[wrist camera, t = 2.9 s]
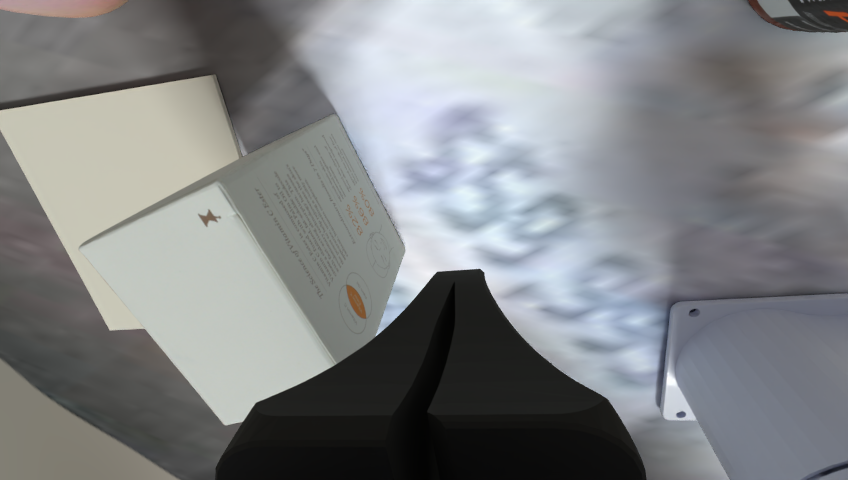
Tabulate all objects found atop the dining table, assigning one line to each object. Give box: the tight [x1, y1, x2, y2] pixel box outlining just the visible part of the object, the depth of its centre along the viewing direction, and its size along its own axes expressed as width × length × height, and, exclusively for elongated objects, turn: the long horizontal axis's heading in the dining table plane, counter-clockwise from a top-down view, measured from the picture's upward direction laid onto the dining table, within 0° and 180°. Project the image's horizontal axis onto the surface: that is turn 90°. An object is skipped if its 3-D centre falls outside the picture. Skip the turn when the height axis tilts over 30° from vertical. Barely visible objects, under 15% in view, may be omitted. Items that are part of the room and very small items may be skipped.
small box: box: [78, 114, 405, 425], centre depth 18 cm, size 8×6×10 cm
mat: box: [0, 75, 242, 330], centre depth 24 cm, size 13×14×1 cm
